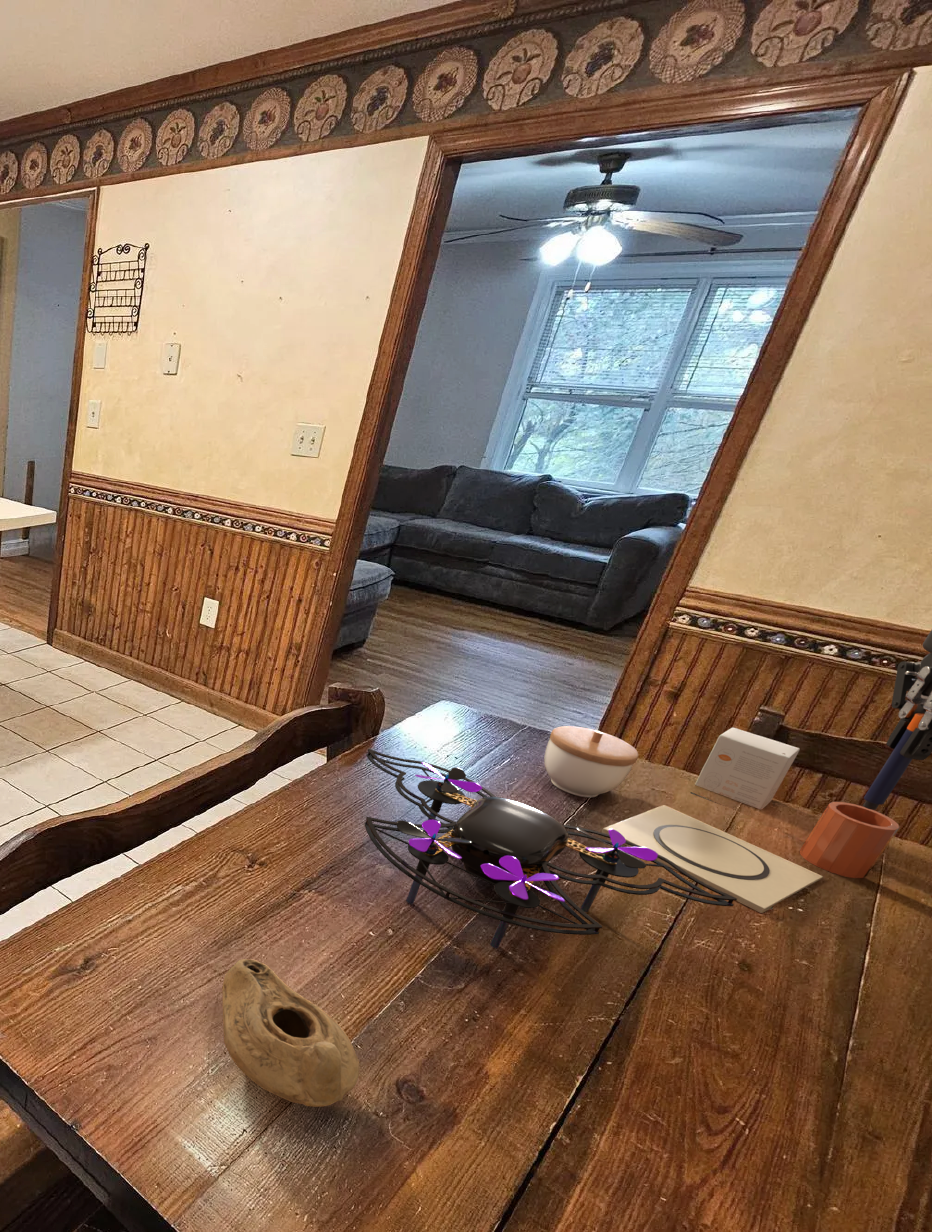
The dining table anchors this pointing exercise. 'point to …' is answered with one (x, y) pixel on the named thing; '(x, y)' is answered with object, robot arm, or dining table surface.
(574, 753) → the trinket box
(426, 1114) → the dining table surface
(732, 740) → the small box
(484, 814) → the drone
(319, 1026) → the oil lamp
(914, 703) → the robot arm
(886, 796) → the marker
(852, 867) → the pen cup
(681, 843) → the drawing pad
